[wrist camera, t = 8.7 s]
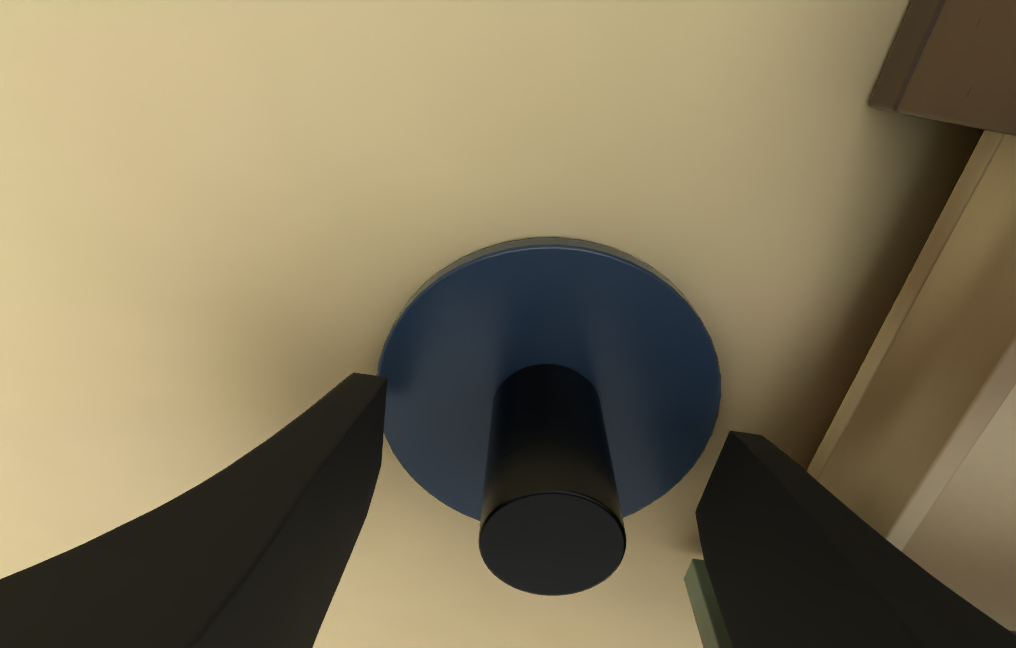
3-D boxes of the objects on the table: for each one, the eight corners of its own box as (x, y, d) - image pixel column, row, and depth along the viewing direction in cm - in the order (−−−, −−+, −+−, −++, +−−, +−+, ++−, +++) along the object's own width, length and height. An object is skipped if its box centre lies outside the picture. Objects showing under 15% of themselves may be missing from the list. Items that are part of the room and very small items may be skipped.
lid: (660, 536, 14) (706, 711, 10) (372, 494, 13) (315, 660, 10) (765, 269, 10) (887, 388, 7) (392, 207, 10) (318, 297, 7)
